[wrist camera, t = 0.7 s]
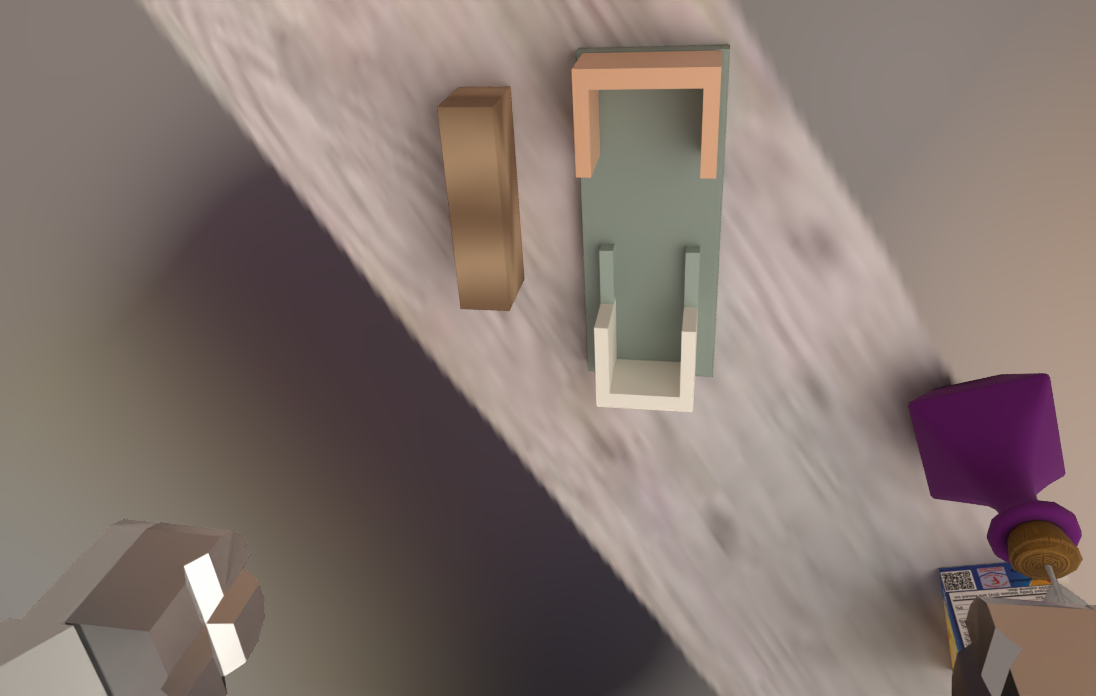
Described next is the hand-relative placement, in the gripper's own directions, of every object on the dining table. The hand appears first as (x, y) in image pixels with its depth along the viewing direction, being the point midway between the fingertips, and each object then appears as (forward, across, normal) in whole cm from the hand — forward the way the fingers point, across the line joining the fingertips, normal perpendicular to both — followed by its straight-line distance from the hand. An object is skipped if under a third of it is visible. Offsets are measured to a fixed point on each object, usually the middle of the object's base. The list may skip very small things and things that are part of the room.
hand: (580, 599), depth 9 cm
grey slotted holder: (+40, +2, +11) cm, 42 cm away
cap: (+39, +2, +4) cm, 39 cm away
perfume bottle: (+40, -18, +23) cm, 50 cm away
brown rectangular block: (+40, +12, +9) cm, 43 cm away
